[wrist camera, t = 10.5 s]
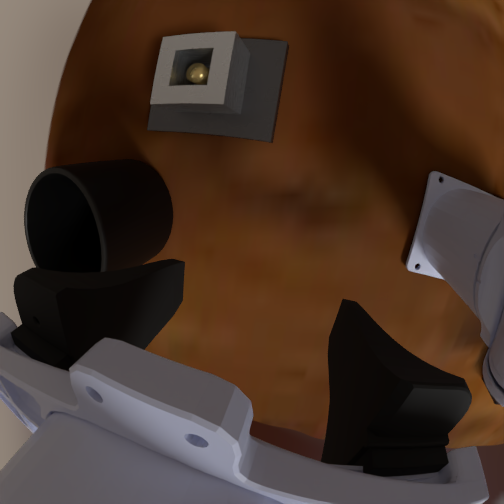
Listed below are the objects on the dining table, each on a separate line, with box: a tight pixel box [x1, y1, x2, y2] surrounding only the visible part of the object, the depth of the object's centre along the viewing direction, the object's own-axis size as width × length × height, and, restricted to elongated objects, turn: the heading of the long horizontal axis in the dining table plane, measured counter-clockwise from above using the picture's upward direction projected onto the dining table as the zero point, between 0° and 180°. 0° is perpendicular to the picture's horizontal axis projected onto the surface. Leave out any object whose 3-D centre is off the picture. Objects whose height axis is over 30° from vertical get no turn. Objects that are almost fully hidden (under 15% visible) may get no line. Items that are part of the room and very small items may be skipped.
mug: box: [24, 159, 173, 273], centre depth 19 cm, size 9×12×9 cm
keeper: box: [147, 38, 289, 143], centre depth 17 cm, size 10×8×4 cm
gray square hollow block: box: [150, 32, 250, 115], centre depth 16 cm, size 5×5×4 cm
